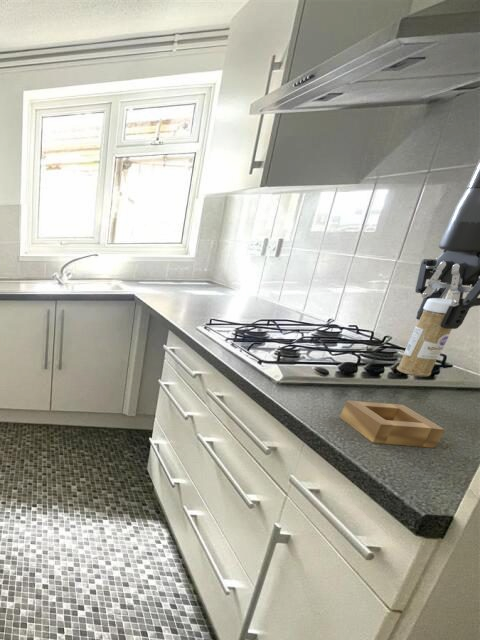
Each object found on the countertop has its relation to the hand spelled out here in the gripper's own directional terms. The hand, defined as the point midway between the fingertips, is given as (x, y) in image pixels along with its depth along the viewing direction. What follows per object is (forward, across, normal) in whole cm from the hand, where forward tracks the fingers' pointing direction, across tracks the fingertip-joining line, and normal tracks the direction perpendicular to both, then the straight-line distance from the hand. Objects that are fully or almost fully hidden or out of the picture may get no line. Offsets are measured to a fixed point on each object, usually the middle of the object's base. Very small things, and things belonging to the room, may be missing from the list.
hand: (435, 323), depth 73 cm
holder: (+22, 0, 0) cm, 22 cm away
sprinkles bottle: (+10, 0, 0) cm, 10 cm away
